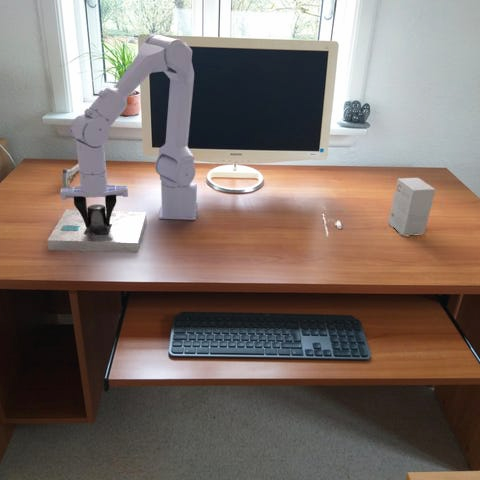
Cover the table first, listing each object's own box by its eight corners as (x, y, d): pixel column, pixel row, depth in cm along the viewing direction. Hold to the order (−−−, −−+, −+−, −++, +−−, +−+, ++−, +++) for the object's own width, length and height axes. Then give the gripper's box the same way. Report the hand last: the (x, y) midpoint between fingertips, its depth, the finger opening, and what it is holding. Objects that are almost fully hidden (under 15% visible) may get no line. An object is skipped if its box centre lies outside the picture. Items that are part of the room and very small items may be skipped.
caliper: (67, 192, 142) (65, 171, 139) (63, 191, 142) (61, 171, 139) (83, 166, 160) (81, 147, 157) (79, 166, 160) (77, 147, 157)
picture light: (321, 214, 139) (322, 207, 138) (336, 215, 139) (338, 208, 138) (326, 238, 127) (327, 231, 126) (343, 240, 127) (344, 232, 126)
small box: (424, 235, 130) (436, 189, 124) (402, 237, 129) (413, 190, 122) (407, 221, 137) (418, 177, 131) (387, 223, 136) (397, 178, 129)
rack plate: (146, 220, 129) (146, 211, 128) (137, 252, 115) (137, 242, 114) (67, 218, 128) (66, 209, 126) (48, 249, 114) (47, 239, 112)
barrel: (107, 226, 121) (105, 203, 118) (107, 234, 117) (105, 210, 115) (89, 228, 120) (87, 204, 117) (89, 235, 116) (87, 211, 114)
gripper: (125, 163, 116) (128, 215, 123) (59, 165, 113) (66, 219, 119) (126, 174, 110) (130, 229, 117) (57, 176, 107) (64, 233, 113)
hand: (97, 224), depth 118 cm, fingers closed on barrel, 4 cm apart
